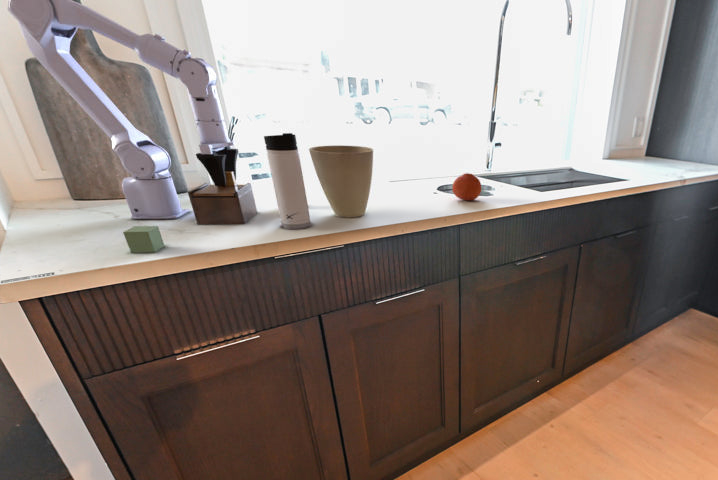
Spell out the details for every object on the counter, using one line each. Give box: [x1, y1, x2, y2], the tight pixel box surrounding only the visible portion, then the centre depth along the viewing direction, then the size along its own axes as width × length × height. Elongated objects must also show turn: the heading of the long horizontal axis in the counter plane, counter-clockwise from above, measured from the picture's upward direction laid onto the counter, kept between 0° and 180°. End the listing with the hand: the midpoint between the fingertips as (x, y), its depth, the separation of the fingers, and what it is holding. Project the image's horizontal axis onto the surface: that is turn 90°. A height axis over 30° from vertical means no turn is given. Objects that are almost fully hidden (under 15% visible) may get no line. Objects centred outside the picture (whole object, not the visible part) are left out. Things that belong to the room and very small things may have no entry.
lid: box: [193, 171, 245, 196], centre depth 100 cm, size 8×11×4 cm
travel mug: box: [263, 132, 312, 230], centre depth 95 cm, size 6×7×20 cm
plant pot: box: [308, 144, 374, 218], centre depth 108 cm, size 15×15×16 cm
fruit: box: [451, 172, 482, 201], centre depth 131 cm, size 9×9×8 cm
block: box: [122, 225, 165, 254], centre depth 81 cm, size 4×4×4 cm
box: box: [187, 182, 258, 225], centre depth 102 cm, size 10×11×7 cm
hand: (226, 183), depth 103 cm, fingers open, 7 cm apart
